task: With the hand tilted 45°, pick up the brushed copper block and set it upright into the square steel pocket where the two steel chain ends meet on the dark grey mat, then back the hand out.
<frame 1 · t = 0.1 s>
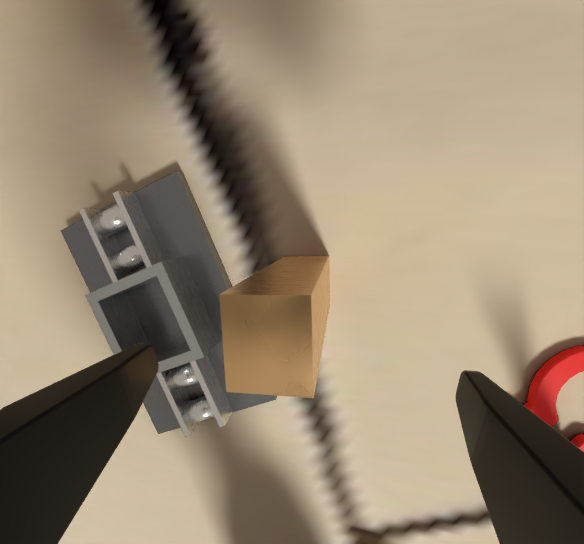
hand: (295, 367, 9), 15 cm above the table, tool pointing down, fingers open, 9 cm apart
chain ends: (173, 310, 27), on the table
tow hook: (581, 400, 22), on the table
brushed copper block: (307, 280, 24), on the table
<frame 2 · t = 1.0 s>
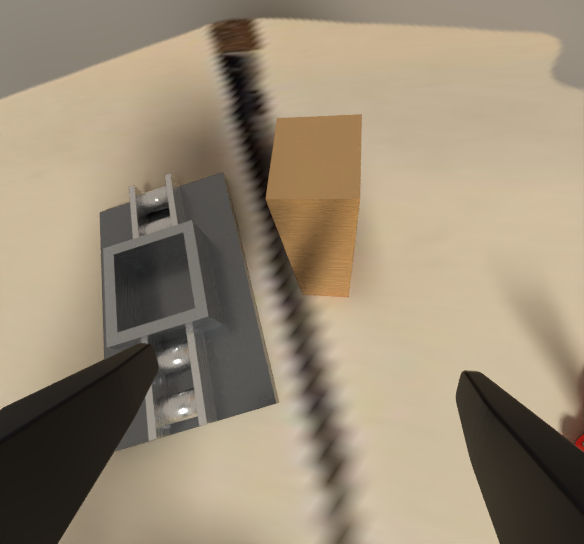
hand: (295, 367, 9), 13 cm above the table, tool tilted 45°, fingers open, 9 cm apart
chain ends: (179, 295, 25), on the table
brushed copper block: (326, 271, 24), on the table
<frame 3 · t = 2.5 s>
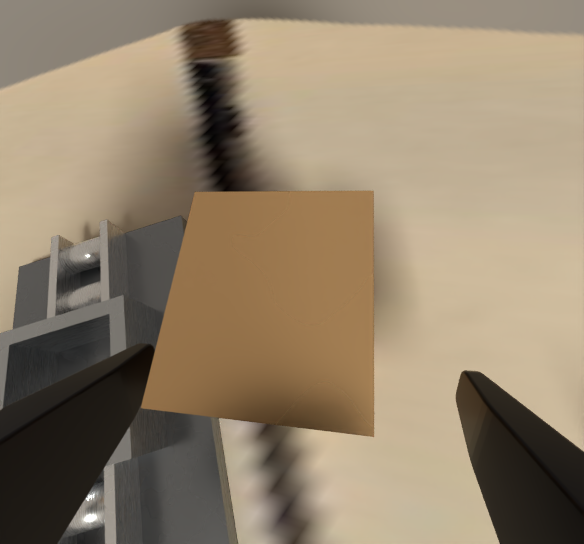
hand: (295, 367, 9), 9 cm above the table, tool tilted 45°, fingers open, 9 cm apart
chain ends: (113, 390, 18), on the table
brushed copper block: (316, 362, 17), on the table
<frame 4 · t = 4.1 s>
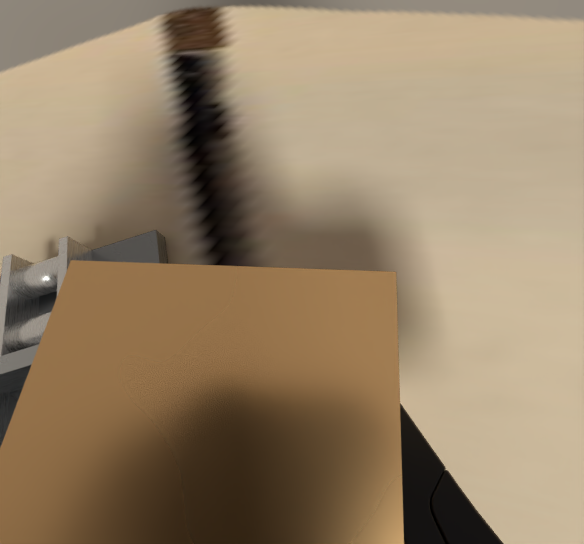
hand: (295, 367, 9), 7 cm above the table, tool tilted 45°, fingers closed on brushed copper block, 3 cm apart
chain ends: (73, 437, 15), on the table
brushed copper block: (310, 407, 14), on the table, touching gripper
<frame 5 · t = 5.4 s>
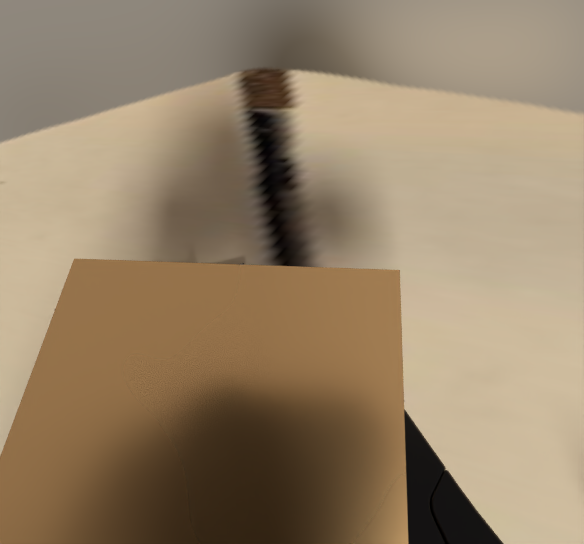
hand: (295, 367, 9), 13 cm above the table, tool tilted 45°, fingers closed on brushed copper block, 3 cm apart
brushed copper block: (311, 406, 14), point 7 cm above the table, touching gripper
when the fingers open (9 cm above the table, at t = 7.2 s): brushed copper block drops 1 cm, resting on chain ends.
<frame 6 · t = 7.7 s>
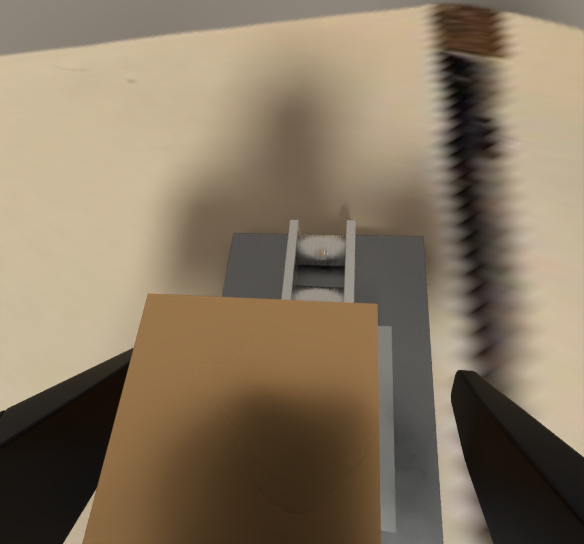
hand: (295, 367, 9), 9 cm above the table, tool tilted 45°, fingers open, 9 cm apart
chain ends: (314, 404, 17), on the table
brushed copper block: (313, 405, 16), point 1 cm above the table, touching chain ends
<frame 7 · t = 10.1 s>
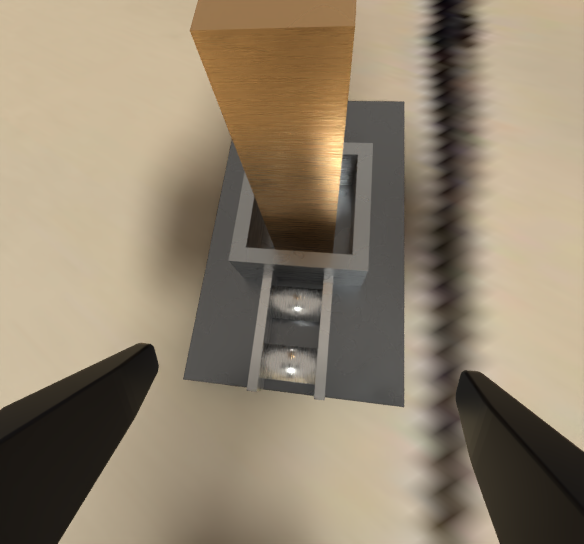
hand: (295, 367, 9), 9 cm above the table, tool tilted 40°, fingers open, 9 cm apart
chain ends: (307, 231, 20), on the table
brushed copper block: (306, 224, 19), point 1 cm above the table, touching chain ends
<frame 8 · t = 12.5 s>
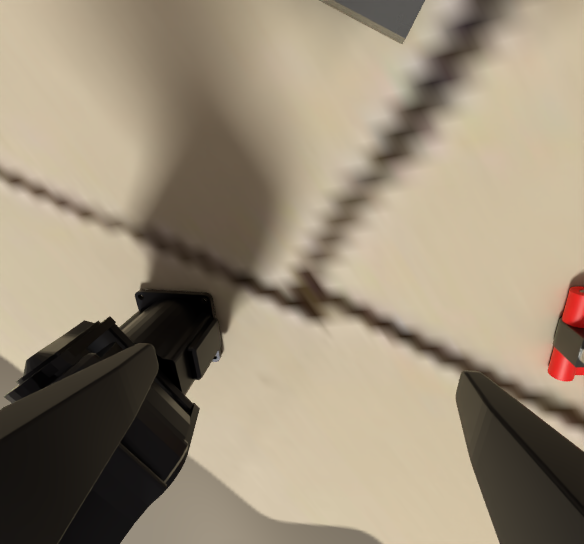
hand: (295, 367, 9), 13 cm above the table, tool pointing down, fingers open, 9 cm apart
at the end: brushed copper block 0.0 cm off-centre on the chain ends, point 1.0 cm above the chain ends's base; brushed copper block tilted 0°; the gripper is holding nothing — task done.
